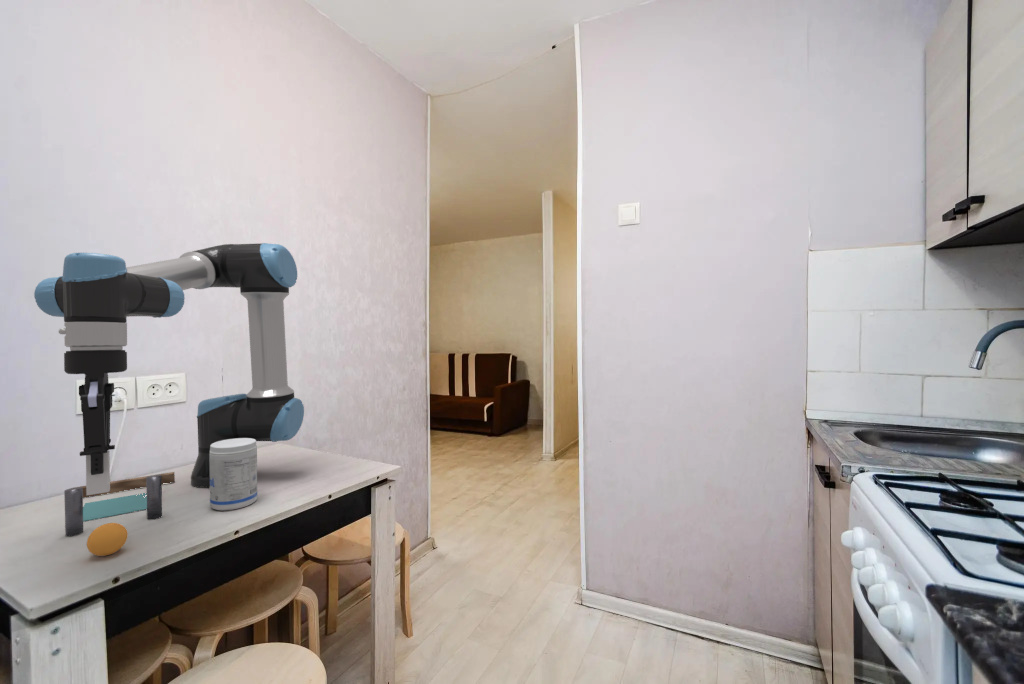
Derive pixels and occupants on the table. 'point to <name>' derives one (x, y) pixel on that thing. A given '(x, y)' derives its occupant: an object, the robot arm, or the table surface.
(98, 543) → the ball
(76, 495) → the left post
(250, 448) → the supplement tub
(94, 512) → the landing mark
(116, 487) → the brown wooden bar
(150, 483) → the right post
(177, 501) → the table surface
